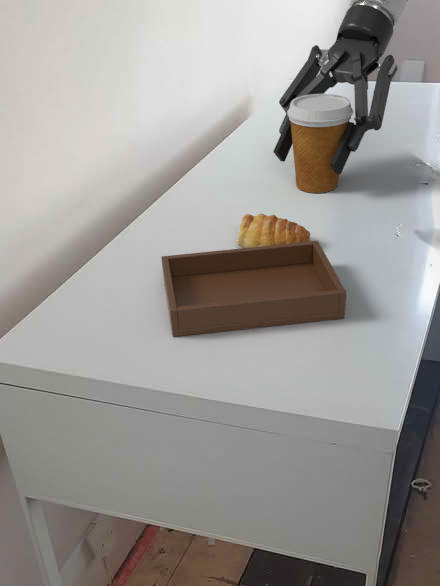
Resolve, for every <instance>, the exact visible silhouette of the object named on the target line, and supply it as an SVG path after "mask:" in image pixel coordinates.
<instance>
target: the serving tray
mask: <svg viewBox="0 0 440 586" xmlns="http://www.w3.org/2000/svg"><path fill="white" fill-rule="evenodd" d="M160 258H161V266H162V276H163V278H162V279H163V284H164V290H165V297H166V304H167V311H168V316H169V323H170V330H171V335H172V337H173V338H176V337H186V336H194V335H195V336H196V335H204V334H213V333H214V334H215V333H221V332H223V333H224V332H229V331H230V332H231V331H241V330H249V329H260V328H267V327H268V328H269V327H278V326H279V327H280V326H288V325H296V324H307V323H314V322H323V321H332V320H333V321H334V320H342V319H343V320H344V319H345V317H346V316H345V315H346V313H345V312H346V303H347V291H346V289H345V287H344V286H343V284H342V282H341V280H340V278H339V277H338V275H337V273H336V271H335V269H334V268H333V265H332V263H331V262H330V260H329V258H328V256H327V254H326V253H325V251H324V249H323V247H322V246H321V244H320V242H319V241H318V240H313V241H309V242H301V243H291V244H281V245H271V246H261V247H251V248H241V247H240V248H231V249H222V250H212V251H203V252H202V251H201V252H192V253H181V254H171V255H162V256H160Z"/></svg>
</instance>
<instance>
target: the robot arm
mask: <svg viewBox="0 0 440 586" xmlns="http://www.w3.org/2000/svg"><path fill="white" fill-rule="evenodd" d="M408 2H409V0H351V1H350V3H349V8H348V9H347V10H346V12H345V14H344V17H343V19H342V21H341V23H340V25H339V28H338V31H337V35H336V40H335V42H334V43H333V44H332V45H331V46H330V48H329V49H320V46H319V45H318V44H317V45H313V46H312V47H311V49H310V52H309V54H308V58H307V60H306V61H305V62H304V64H303V66H302V67H301V69H300V70H299V71H298V73H297V75H296V76H295V77H294V79H293V80H292V82H290V84H289V86H288V87H287V89H286V90H285V92H284V93H283V94H282V96H281V97H280V99H279V101H278V104H279V106H280V107H281V108H282V110H283V111H284V113H285V115H284V117H283V120H282V122H281V124H280V126H279V130H278V133H279V134H280V136H279V138H278V139H277V142H276V144H275V146H274V149H273V150H272V152H273V154H274V155H275V156H276V157H277V158H278V160H279V162H284V163H285V162H286V159H287V157H288V155H289V153H290V151H291V148H292V147H293V143H292V132H291V122H290V120H289V116H288V115H287V111H288V110H289V108H290V104H291V101H292V100H293V99H295V98H297V97H300V96H305V95H311V94H326V92H327V91H328V90H329V89H331V88H334V87H335V86H336V85H337V84H338V83H340V84H345V83H347V84H349V85H351V86H352V85H353V87H354V117H353V120H354V122H352V121H349V123H348V126H347V128H346V130H345V132H344V134H343V136H342V139H341V141H340V143H339V145H338V147H337V150H336V152H335V154H334V156H333V158H332V161H331V163H330V165H331V167H332V168H333V170H334V171H335V173H336V174H339V176H340V175H342V172H343V171H344V168H345V166H346V164H347V161H348V159H349V157H350V155H351V153H356V151H357V150H358V148H359V146H360V144H361V142H362V140H363V138H364V136H365V133H367V132H368V131H370V130H374V131H379V130H380V129H381V128H382V125H383V122H384V121H383V120H384V116H385V111H386V106H387V102H388V98H389V97H388V96H389V93H390V89H391V83H392V80H393V79H394V77H395V75H396V73H397V71H398V69H399V68H398V65H397V63H396V60H395V58H394V56H393V55H392V54H388V55H386V57H385V56H384V54H385V52H386V50H387V48H388V46H389V43H390V42H391V40H392V37H393V35H394V30H395V29H396V28H397V26H398V23H399V21H400V20H401V17H402V14H403V12H404V10H405V8H406V7H407V3H408ZM376 70H378V71H377V72H378V73H377V75H376V80H375V85H374V89H373V94H372V98H371V103H370V109H369V99H368V98H369V97H368V95H369V94H368V90H369V76H370V75H371V74H372V73H373V72H375V71H376ZM330 73H331V74H330ZM331 75H332V76H331Z"/></svg>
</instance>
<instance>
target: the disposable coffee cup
mask: <svg viewBox="0 0 440 586" xmlns="http://www.w3.org/2000/svg"><path fill="white" fill-rule="evenodd" d="M353 114H354V109H353V108H352V104H351V100H350V99H349V98H348V97H346V96H345V95H339V94H333V93H324V94H311V95H305V96H300V97H297V98H295V99H293V100H292V101H291V104H290V108H289V110H288V111H287V115H288V116H289V120H290V122H291V132H292V143H293V144H292V151H293V162H294V172H295V184H296V187H297V189H298V190H300V191H303V192H305V193H311V194H323V193H328V192H332V191H335V190H336V188H337V187H338V185H339V179H340V174H336V173H335V171H334V170H333V168H332V167H331V165H330V163H331V161H332V158H333V156H334V154H335V152H336V150H337V147H338V145H339V143H340V141H341V139H342V136H343V134H344V132H345V130H346V128H347V126H348V123H349V122H350V120H351V119H352V116H353Z"/></svg>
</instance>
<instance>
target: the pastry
mask: <svg viewBox="0 0 440 586" xmlns="http://www.w3.org/2000/svg"><path fill="white" fill-rule="evenodd" d="M310 238H311V231H309V230H308V229H307V228H305V227H304V226H303V225H301V224H298V223H297V222H295V221H290V220H288V219H287V218H281V217H278V216H277V215H276V214H271V215H266V214H265V213H259V214H257V215H252V214H250V213H249V214H248V213H245V214H244V216H243V217H242V218H241V222H240V225H239V230H238V235H237V241H236V245H237V246H238V247H240V249H241V248H251V247H261V246H271V245H281V244H291V243H301V242H310Z"/></svg>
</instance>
